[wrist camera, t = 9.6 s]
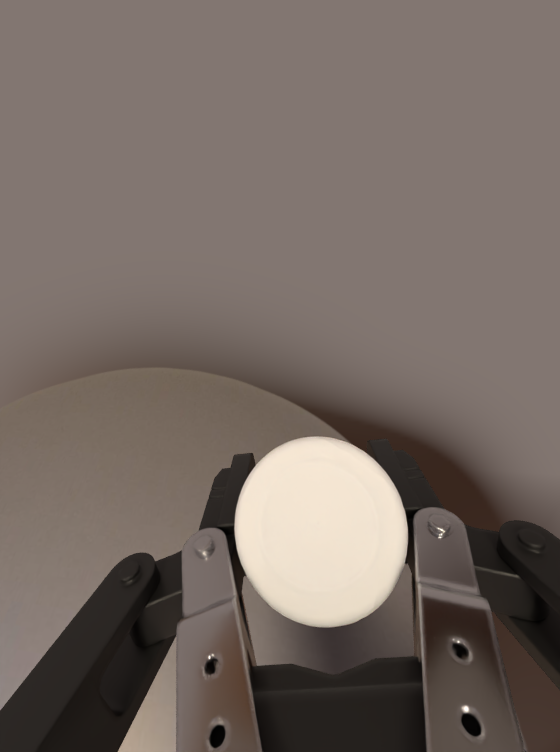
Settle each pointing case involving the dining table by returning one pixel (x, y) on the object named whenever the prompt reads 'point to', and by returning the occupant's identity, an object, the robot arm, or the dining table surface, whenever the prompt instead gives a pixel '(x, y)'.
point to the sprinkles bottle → (321, 532)
